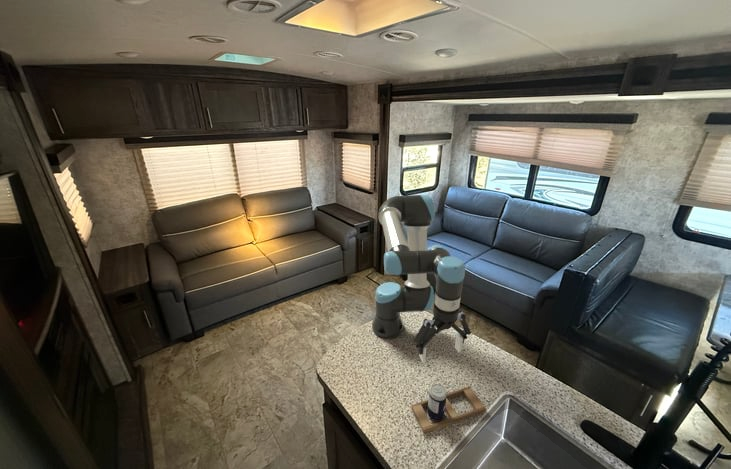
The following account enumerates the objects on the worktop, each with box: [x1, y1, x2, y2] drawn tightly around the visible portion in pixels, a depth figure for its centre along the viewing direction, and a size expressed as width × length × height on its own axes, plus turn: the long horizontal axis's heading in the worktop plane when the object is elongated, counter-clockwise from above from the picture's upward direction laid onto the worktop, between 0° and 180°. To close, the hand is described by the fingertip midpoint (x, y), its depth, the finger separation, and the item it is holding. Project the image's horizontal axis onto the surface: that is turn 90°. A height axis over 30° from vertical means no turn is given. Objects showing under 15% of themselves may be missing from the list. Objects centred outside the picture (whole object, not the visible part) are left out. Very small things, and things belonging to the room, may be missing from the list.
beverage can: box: [426, 383, 448, 422], centre depth 96 cm, size 6×6×12 cm
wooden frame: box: [410, 386, 487, 435], centre depth 99 cm, size 9×24×2 cm, turn 107°
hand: (440, 354), depth 97 cm, fingers open, 13 cm apart
